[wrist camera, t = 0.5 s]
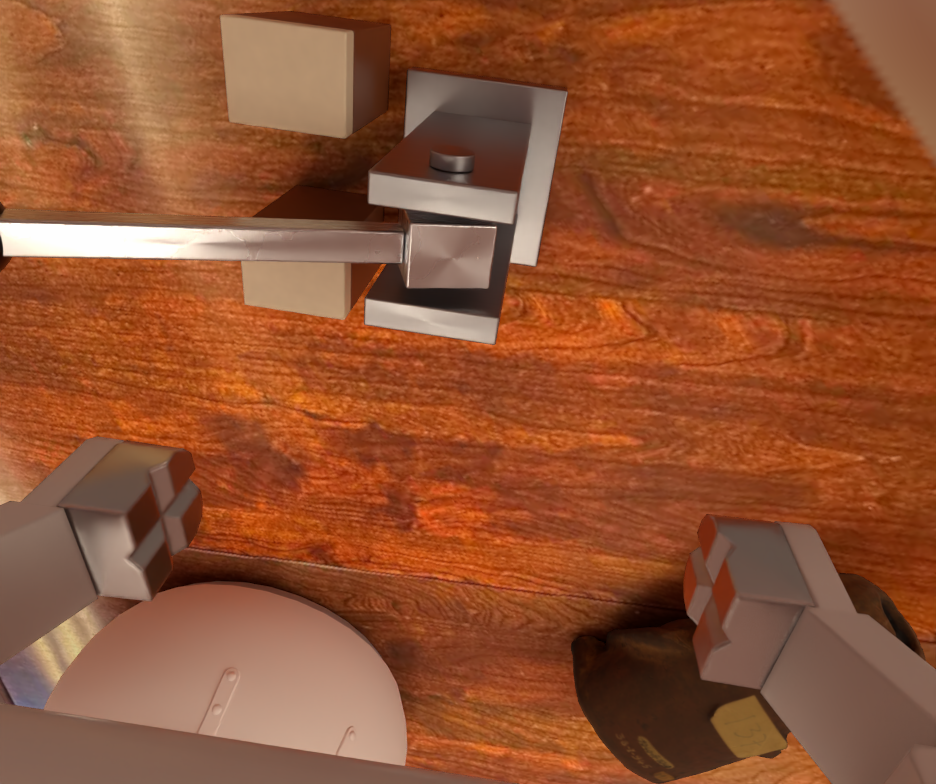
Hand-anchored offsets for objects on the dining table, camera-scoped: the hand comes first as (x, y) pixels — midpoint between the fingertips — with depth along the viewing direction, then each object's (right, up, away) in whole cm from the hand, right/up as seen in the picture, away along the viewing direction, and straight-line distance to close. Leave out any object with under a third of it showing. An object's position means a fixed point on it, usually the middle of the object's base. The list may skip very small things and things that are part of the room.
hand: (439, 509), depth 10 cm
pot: (-17, -21, +44) cm, 51 cm away
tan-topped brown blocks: (-6, +14, +20) cm, 25 cm away
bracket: (+1, +13, +20) cm, 24 cm away
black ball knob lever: (-7, +7, +10) cm, 15 cm away
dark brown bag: (+18, -15, +35) cm, 42 cm away
